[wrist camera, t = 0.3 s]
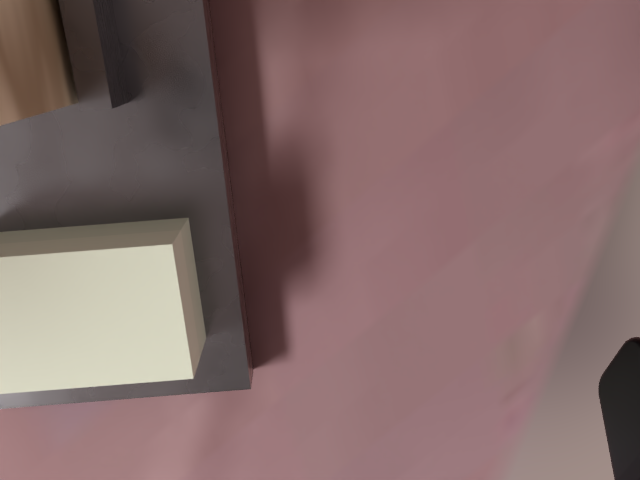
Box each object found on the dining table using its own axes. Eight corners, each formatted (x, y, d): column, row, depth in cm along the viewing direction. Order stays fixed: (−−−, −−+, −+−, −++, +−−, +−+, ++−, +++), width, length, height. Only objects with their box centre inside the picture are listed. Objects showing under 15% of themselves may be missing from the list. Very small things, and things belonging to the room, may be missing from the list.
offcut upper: (200, 356, 22) (193, 378, 21) (-15, 373, 22) (-36, 396, 21) (180, 229, 20) (172, 244, 19) (-51, 247, 20) (-78, 263, 19)
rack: (253, 369, 26) (242, 444, 21) (0, 389, 26) (-68, 468, 21) (196, -96, 20) (165, -139, 15) (-131, -73, 20) (-266, -108, 15)
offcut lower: (206, 337, 24) (200, 356, 22) (4, 353, 23) (-15, 373, 22) (188, 217, 22) (180, 229, 20) (-29, 234, 22) (-51, 247, 20)
